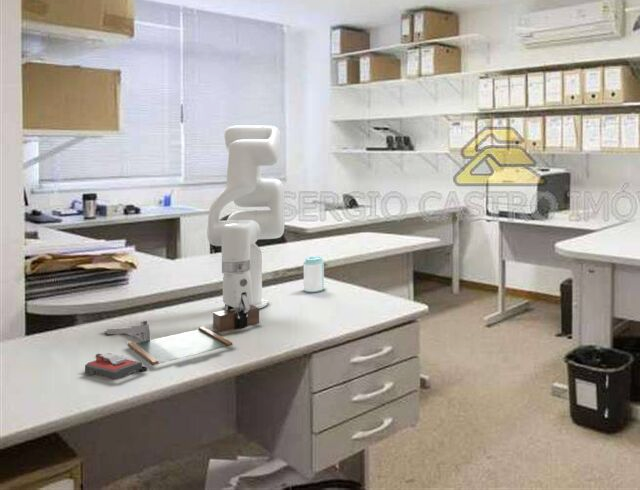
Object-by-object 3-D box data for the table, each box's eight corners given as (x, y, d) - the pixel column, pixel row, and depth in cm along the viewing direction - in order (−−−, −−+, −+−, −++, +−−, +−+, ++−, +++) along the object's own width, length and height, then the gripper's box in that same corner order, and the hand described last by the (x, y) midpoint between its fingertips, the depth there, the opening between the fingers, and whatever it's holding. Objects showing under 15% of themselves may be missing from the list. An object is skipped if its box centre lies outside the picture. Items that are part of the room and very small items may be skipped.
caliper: (150, 344, 153) (150, 321, 153) (146, 345, 152) (146, 322, 152) (108, 332, 162) (108, 310, 162) (104, 333, 161) (103, 311, 161)
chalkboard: (128, 349, 149) (128, 342, 149) (202, 332, 162) (202, 326, 162) (153, 369, 135) (153, 362, 135) (232, 349, 149) (232, 342, 149)
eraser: (213, 332, 163) (212, 312, 162) (251, 323, 171) (251, 304, 171) (220, 336, 159) (220, 316, 159) (259, 326, 167) (259, 307, 167)
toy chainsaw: (156, 371, 134) (101, 359, 142) (156, 353, 134) (101, 341, 142) (118, 386, 126) (62, 372, 134) (118, 366, 126) (62, 353, 134)
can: (300, 292, 207) (299, 259, 206) (309, 287, 214) (309, 255, 213) (318, 293, 205) (318, 260, 205) (327, 288, 212) (327, 256, 212)
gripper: (262, 268, 162) (262, 332, 162) (236, 261, 173) (237, 320, 174) (235, 273, 156) (236, 339, 156) (210, 264, 168) (211, 326, 168)
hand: (236, 328), depth 165 cm, fingers open, 5 cm apart
